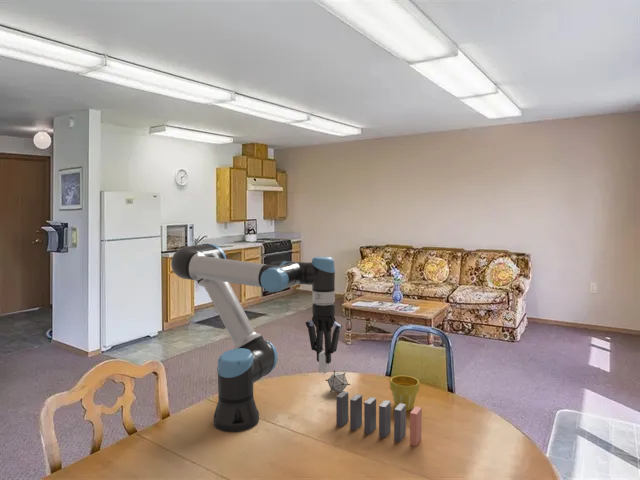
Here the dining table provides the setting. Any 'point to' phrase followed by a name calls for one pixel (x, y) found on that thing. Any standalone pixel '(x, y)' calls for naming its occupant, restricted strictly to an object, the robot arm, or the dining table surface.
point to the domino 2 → (355, 412)
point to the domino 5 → (399, 422)
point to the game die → (337, 382)
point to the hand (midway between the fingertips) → (323, 371)
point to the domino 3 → (370, 415)
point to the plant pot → (404, 390)
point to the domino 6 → (415, 426)
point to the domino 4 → (384, 418)
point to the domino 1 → (342, 409)
